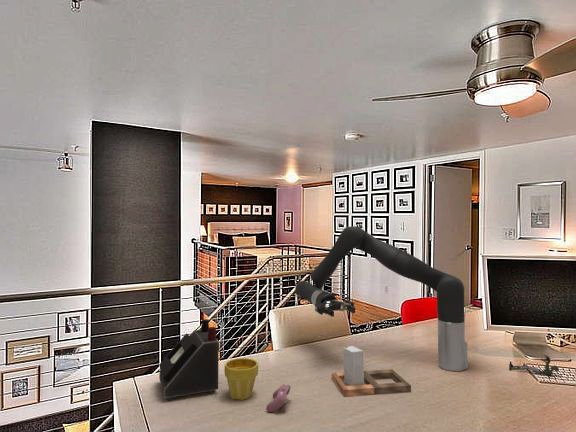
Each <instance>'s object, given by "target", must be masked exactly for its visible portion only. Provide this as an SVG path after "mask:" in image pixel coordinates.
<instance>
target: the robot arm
mask: <svg viewBox="0 0 576 432" xmlns="http://www.w3.org/2000/svg"><path fill="white" fill-rule="evenodd" d="M353 249H356V250H359V251H362V252H363V253H365V254H368V255H370V256H371V257H373V258H374V259H375V260H376V261H378V262H379V263H380V264H381V265H382V266H383V267H385V268H387V270H389V271H392V272H393V273H396V274H397V275H399V276H401V277H403V278H406V279H410V280H411V281H415V282H418V283H421V284H423V285H425V286H427V287H429V288H431V289H432V290H433V291H435V292H436V312H437V361H438V362H437V364H438V367H439V368H440V369H443V370H446V371H451V372H461V371H465V370H467V369H468V362H469V361H468V342H467V341H466V338H465V337H466V335H465V333H466V331H465V330H466V329H465V326H466V325H465V317H466V315H465V285H464V282H463V281H462V280H461V279H460V278H458V277H456V276H454V275H451V274H448V273H446V272H443V271H442V270H439V269H437V268H434V267H432V266H431V265H429V264H427V263H425V261H423V260H421V259H420V258H418V257H416V256H415V255H412V254H411V253H408V252H407V251H406V250H405V251H404V250H403V249H402V248H399V247H396V246H394V245H392V244H389V243H388V242H385V241H382V240H380V239H378V238H377V237H375V236H373V235H372V234H370V233H368V232H367V231H365V230H364V229H363V228H361V227H359V226H355V225H354V226H350V225H349V226H347V227H345V228H344V229H343V230H342V231H341V232H340V234H339V236H338V237H337V239H336V241H335V242H334V244H333V245H332V247H331V249H330V250H329V251H328V253H327V254H326V255H325V256H324V258H323V259H322V260H321V262H320V263H318V265H317V266H316V268H315V269H314V270H313V271H312V272H311V274H310V280H311V281H312V282H313V283H314V284H311V283H310V282H308V281H306V280H301V281H298V282H297V284H296V285H295V289H294V290H295V294H296V295H297V296H298V297H300V298H302V299H304V300H306V301H308V302H309V303H310V304H311V305H313V306H314V311H315V312H316V313H317V314H319V315H321V316H322V315H328V316H329V317H332V318H333V317H335V312H337V311H339V312H345V311H347V312H350V313H351V314H356V306H355V303H354V301H351V300H348V299H347V298H345V299H343V300H338V299H337V297H336V296H335V294H332V293H330V292H329V291H327V290H324V289H323V287H324V285H325V284H326V283H327V281H328V280H329V279H330V278H331V276H332V275H333V274H334V273H335V271H336V270H337V268H338V266H339V264H340V263H341V262H342V260H343V259H344V258H345V257H346V255H348V254H349V253H350V252H351V251H353Z"/></svg>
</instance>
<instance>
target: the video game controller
mask: <svg viewBox="0 0 576 432" xmlns="http://www.w3.org/2000/svg"><path fill="white" fill-rule="evenodd" d="M291 388H292V386H291V385H290V384H288V383H285V382H284V383H283V384H281V385H280V386H279V388H277V389H276V390H275V391H274V392H273V393H272V399H273V400H271V401H270V402H269V403H268V404H267V405H266V408H265V409H266V412H268V413H274V412H275V411H277V410H281V408H282V407H283V405H284V404H286V405H287V403H288V399H287V397H288V395H289V394H290V392H291V391H290V390H291Z"/></svg>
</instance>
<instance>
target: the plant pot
mask: <svg viewBox="0 0 576 432" xmlns="http://www.w3.org/2000/svg"><path fill="white" fill-rule="evenodd" d="M258 373H259V362H258V361H257V360H256V359H253V358H249V357H237V358H233V359H230V360H227V361H226V362H225V364H224V376H225V378H226V379H227V385H228V389H229V394H230V397H231V398H232V399H234V400H237V401H238V400H239V401H241V400H247V399H249V398H250V397H251V396H252V395H253V391H254V386H255V381H256V377H257V376H258Z"/></svg>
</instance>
